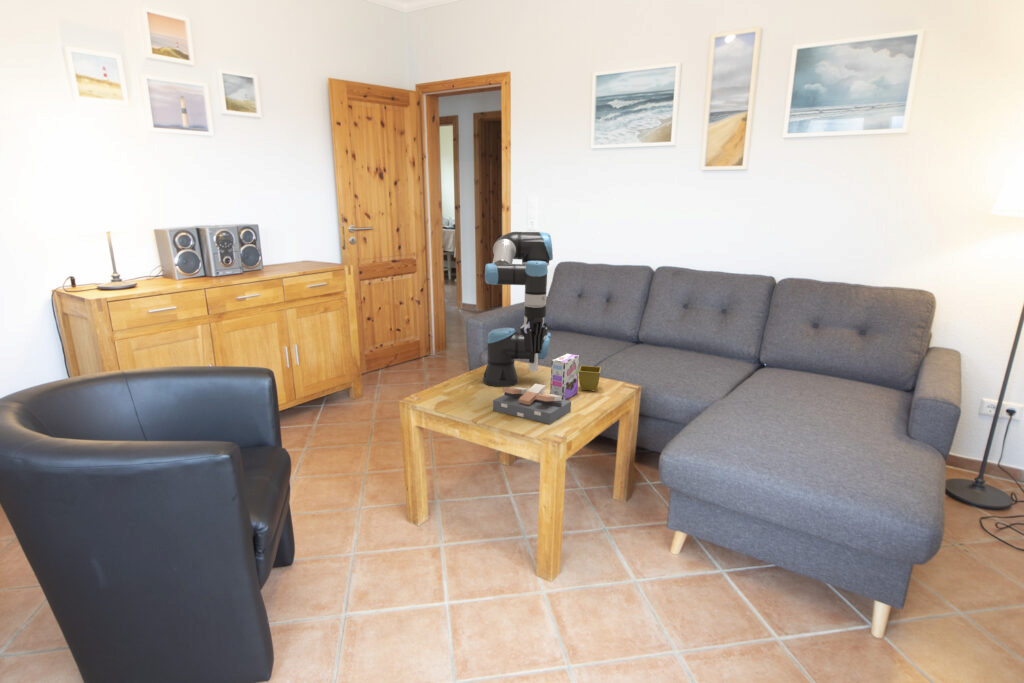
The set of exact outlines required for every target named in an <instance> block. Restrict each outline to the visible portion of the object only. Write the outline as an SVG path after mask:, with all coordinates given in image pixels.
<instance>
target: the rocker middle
mask: <svg viewBox="0 0 1024 683" xmlns="http://www.w3.org/2000/svg"><path fill="white" fill-rule="evenodd" d="M528 389H529V390H528V391H527V392H526V393H524V394H523V395H522V396H521V397H520V398H519V403H523V404H527V405H530V404H531V403H532V402H533V401H534V400H535V399H536V395H539V394H542V393H543V392H544V391H545V390H546V385H544V384H539V383H534V384H533V385H532V386H531V387H529V388H528Z"/></svg>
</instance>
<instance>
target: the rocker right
mask: <svg viewBox="0 0 1024 683" xmlns="http://www.w3.org/2000/svg"><path fill="white" fill-rule="evenodd" d="M536 399H538V400H542V401H561V400H562V396H558V395H554V394H550V393H549V394H548V393H546V394H545V393H544V394H542V393H541V394H539V395H536Z"/></svg>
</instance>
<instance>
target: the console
mask: <svg viewBox="0 0 1024 683" xmlns="http://www.w3.org/2000/svg"><path fill="white" fill-rule="evenodd" d="M503 393H504V394H503V395H501V396H499V397H497V398H495V399H493V400H492V411H494V412H499V413H501V414H502V413H503V414H506V415H509V416H510V415H511V416H513V417H518V418H523V419H526V420H531V421H535V422H538V423H543V424H547V425H551V424H553V423H554V422H556V421H558V420H560V419H561V418H562V417H565V415H567V414H569V413H571V411H572V409H571V408H572V401H571V400H568V399H567V400H563V399H562V400H561V401H542V400H538V399H535V400H534V401H533V402H532V403H531V404H530V405H527V404H523V403H519V398H520V397H521V396H522V395H523V394H511V393H506V392H503Z"/></svg>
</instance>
